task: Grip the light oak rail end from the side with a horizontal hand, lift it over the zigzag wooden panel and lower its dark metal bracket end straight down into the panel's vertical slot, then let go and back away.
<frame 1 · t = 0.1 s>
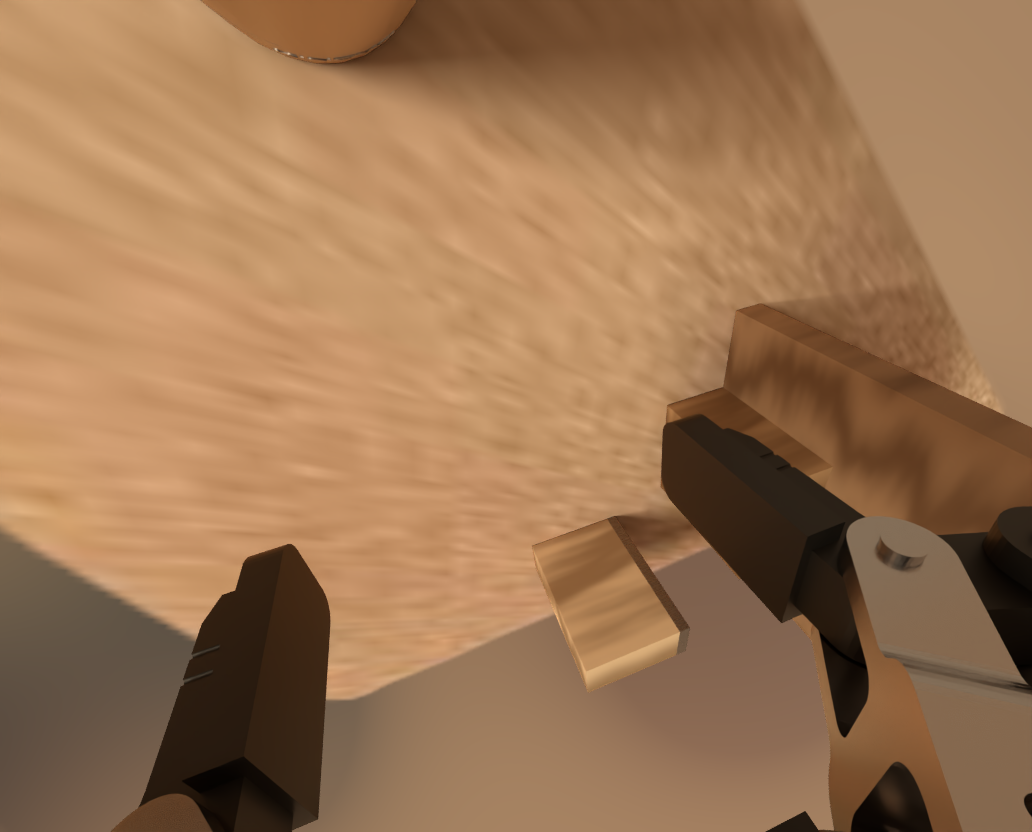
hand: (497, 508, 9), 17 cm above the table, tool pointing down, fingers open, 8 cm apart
zigzag wooden panel: (700, 436, 37), on the table
rail end: (575, 542, 40), on the table
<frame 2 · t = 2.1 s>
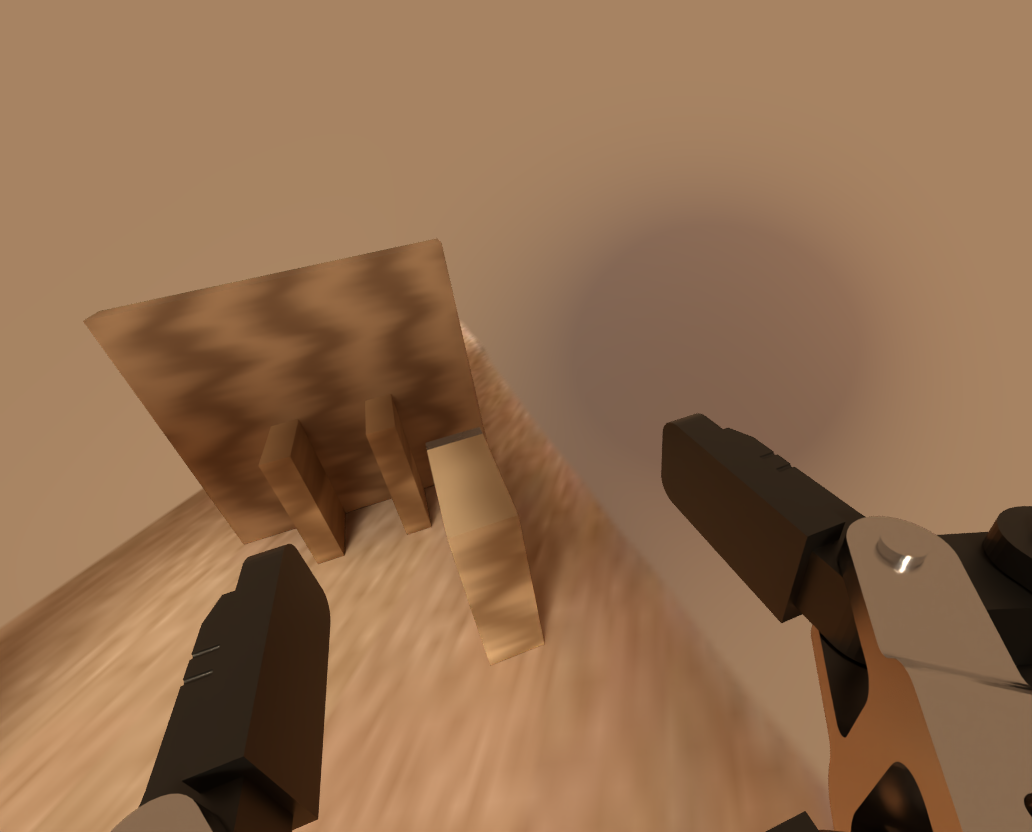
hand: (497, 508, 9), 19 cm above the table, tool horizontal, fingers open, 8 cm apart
zigzag wooden panel: (374, 515, 38), on the table
rail end: (499, 598, 29), on the table
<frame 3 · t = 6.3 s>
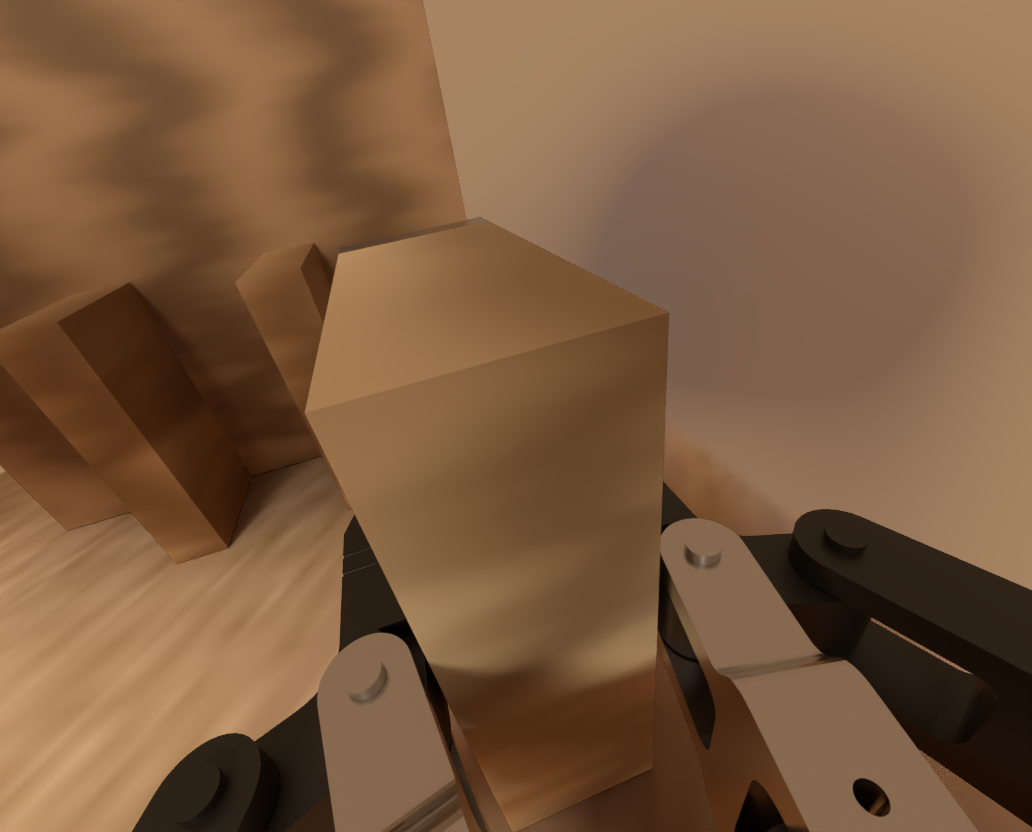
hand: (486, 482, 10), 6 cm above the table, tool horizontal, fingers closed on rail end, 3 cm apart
zigzag wooden panel: (299, 478, 22), on the table
rail end: (528, 638, 13), on the table, touching gripper
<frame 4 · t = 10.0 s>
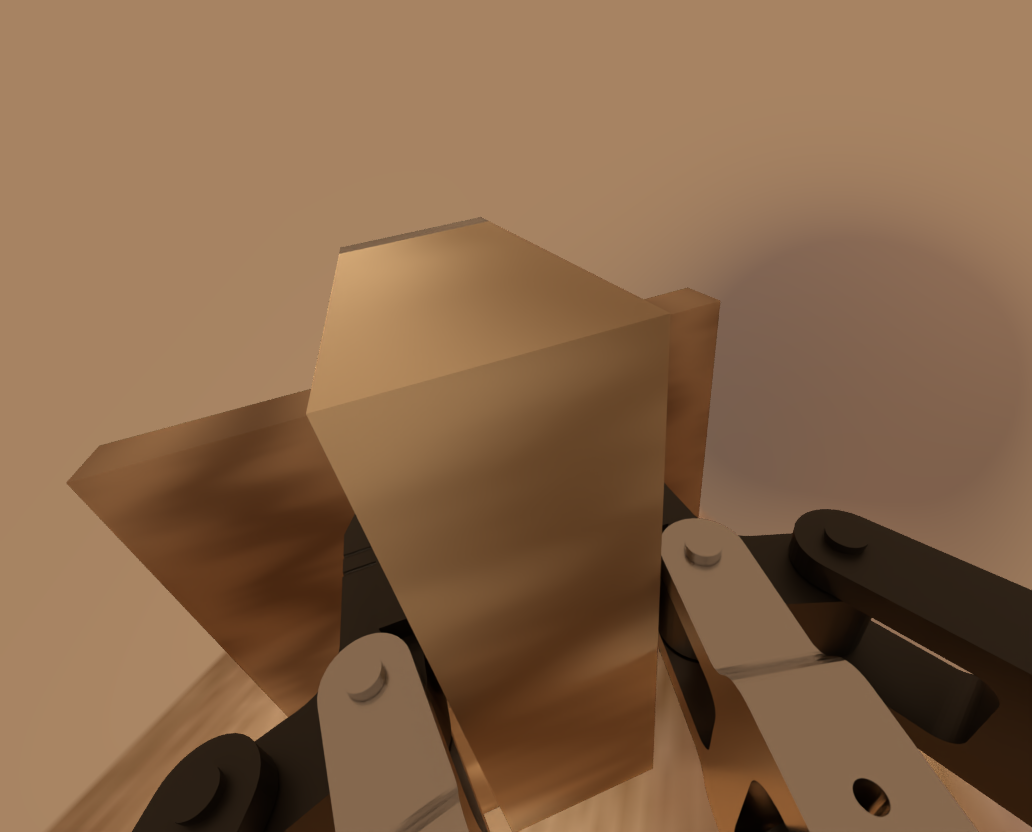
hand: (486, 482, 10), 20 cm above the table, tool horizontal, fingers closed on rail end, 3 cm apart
zigzag wooden panel: (530, 707, 24), on the table
rail end: (528, 638, 13), point 14 cm above the table, touching gripper
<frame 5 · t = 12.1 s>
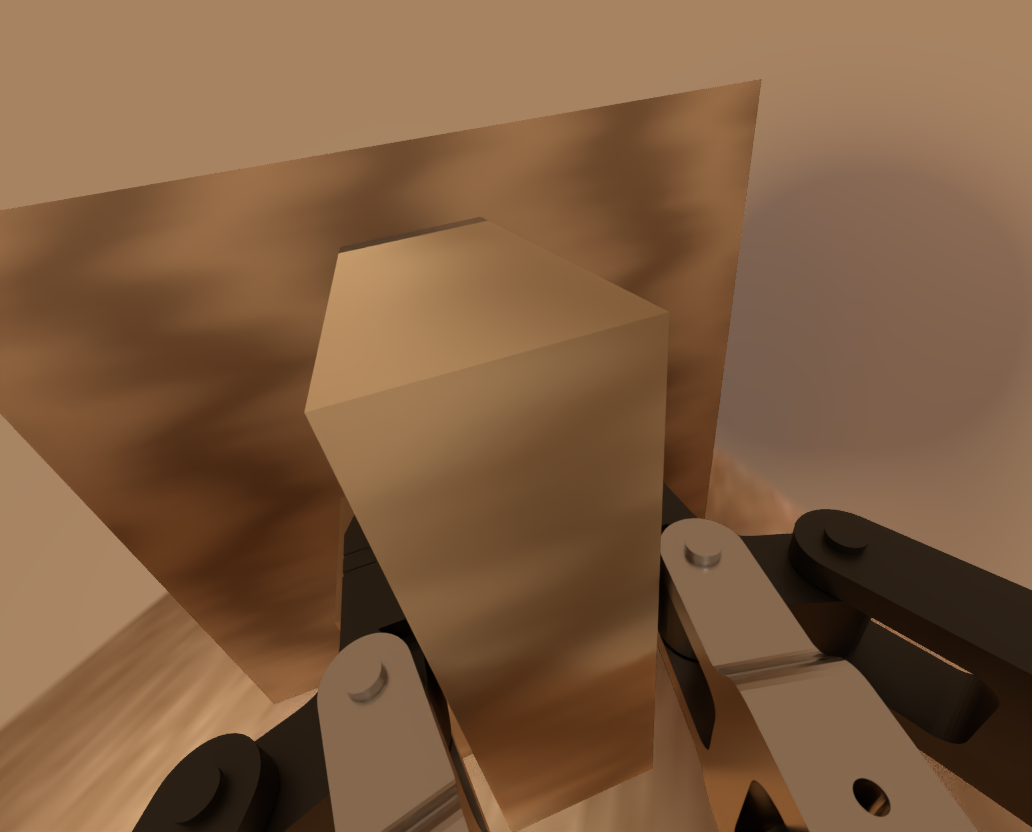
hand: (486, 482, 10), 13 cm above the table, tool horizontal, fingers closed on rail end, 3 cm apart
zigzag wooden panel: (515, 644, 21), on the table
rail end: (528, 638, 13), point 7 cm above the table, touching gripper
when the fingers open (8 cm above the table, at t = 13.8 s): rail end stays where it is, on the table.
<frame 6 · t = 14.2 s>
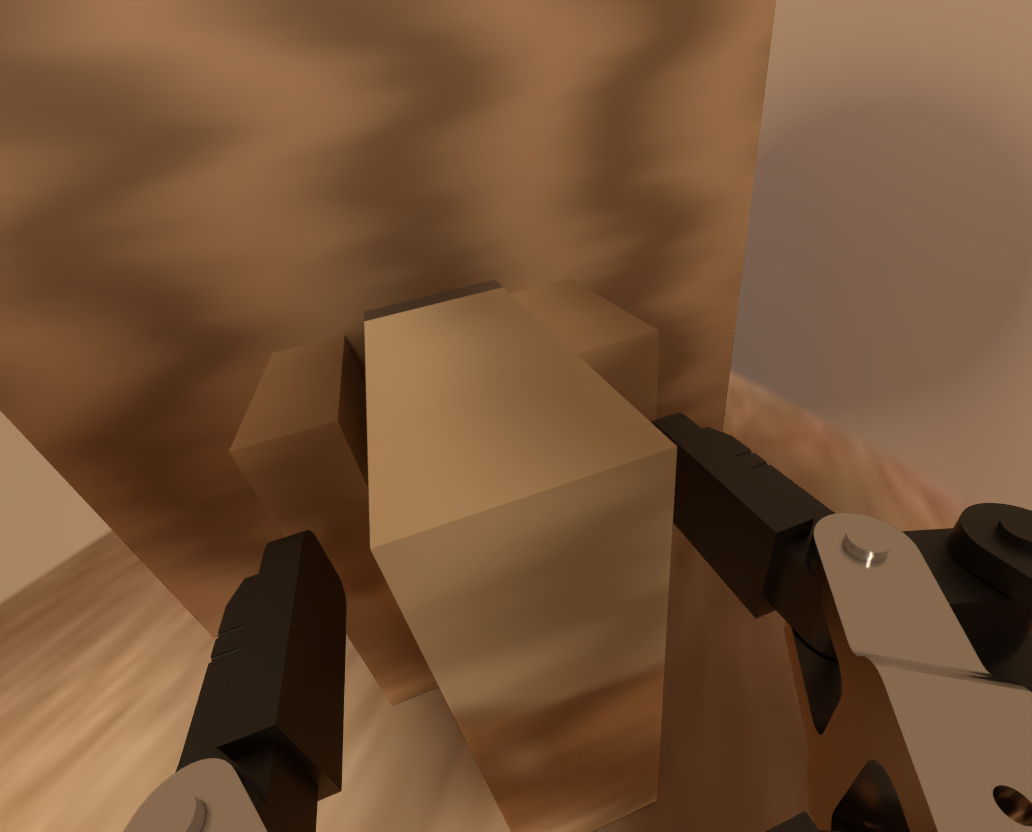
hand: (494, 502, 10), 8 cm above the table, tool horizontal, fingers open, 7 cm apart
zigzag wooden panel: (500, 568, 17), on the table
rail end: (538, 670, 14), on the table
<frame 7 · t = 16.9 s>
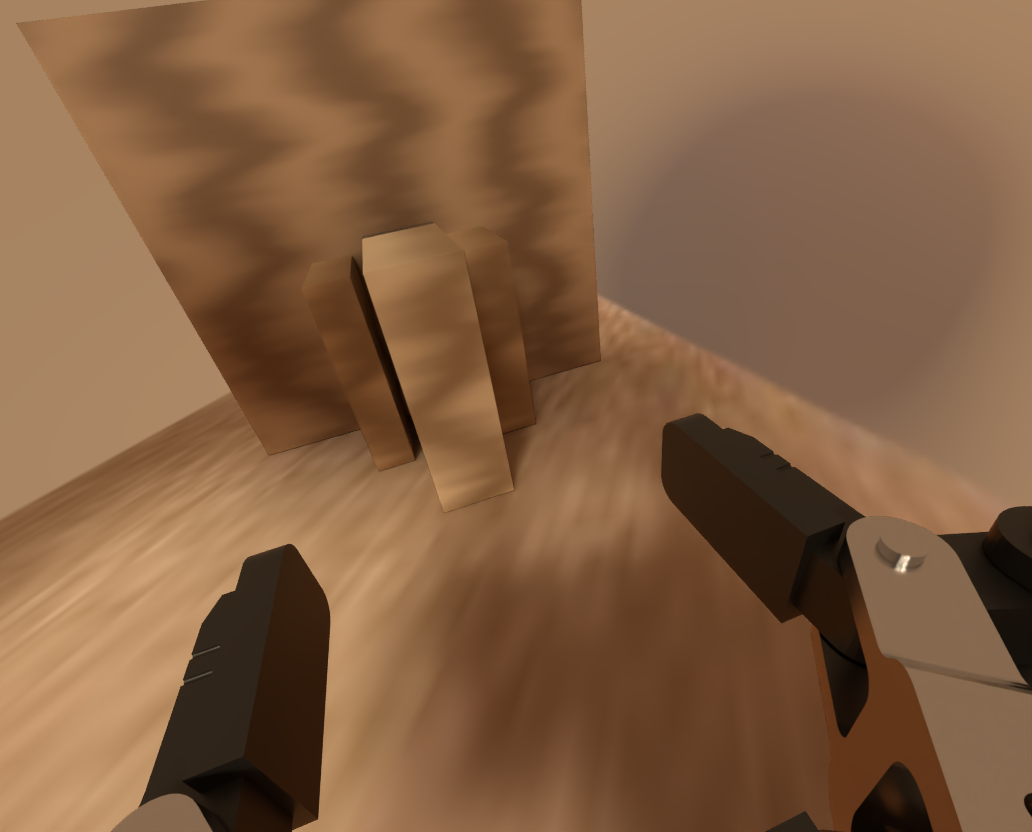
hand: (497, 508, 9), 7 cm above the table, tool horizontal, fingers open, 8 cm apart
zigzag wooden panel: (449, 416, 27), on the table
rail end: (463, 453, 24), on the table
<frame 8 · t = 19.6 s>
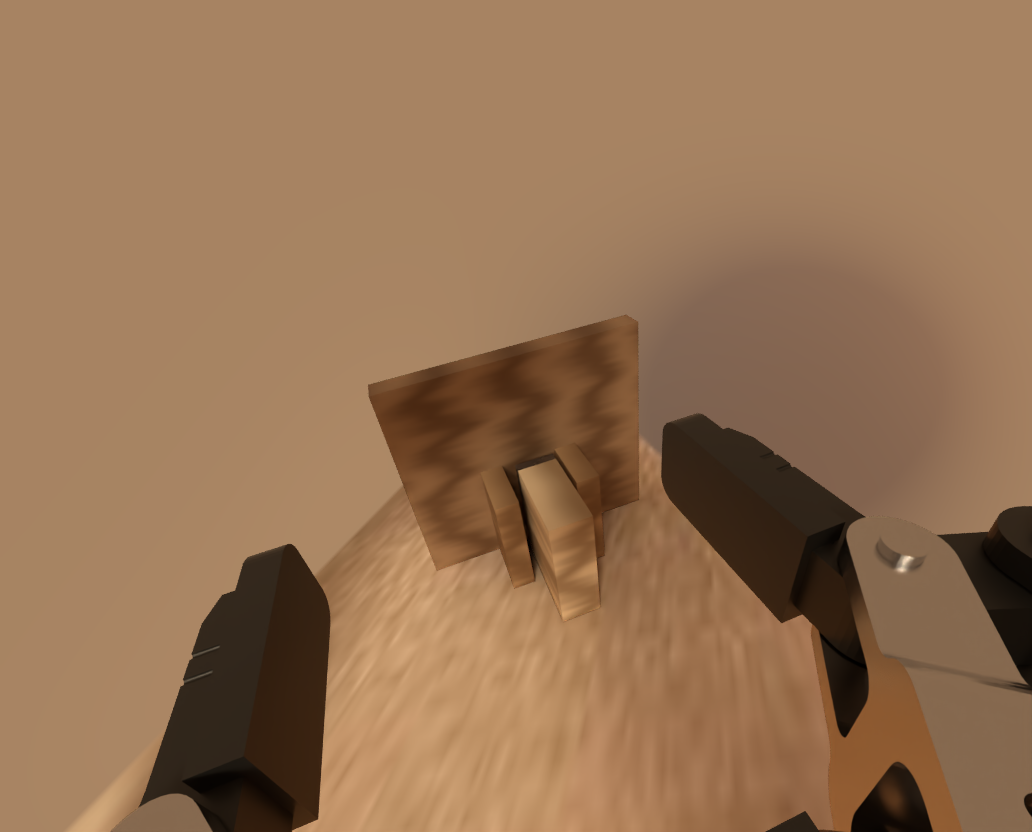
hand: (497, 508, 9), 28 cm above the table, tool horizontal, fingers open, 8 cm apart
zigzag wooden panel: (547, 544, 44), on the table
rail end: (563, 577, 40), on the table
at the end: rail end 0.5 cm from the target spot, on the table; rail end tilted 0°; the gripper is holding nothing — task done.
